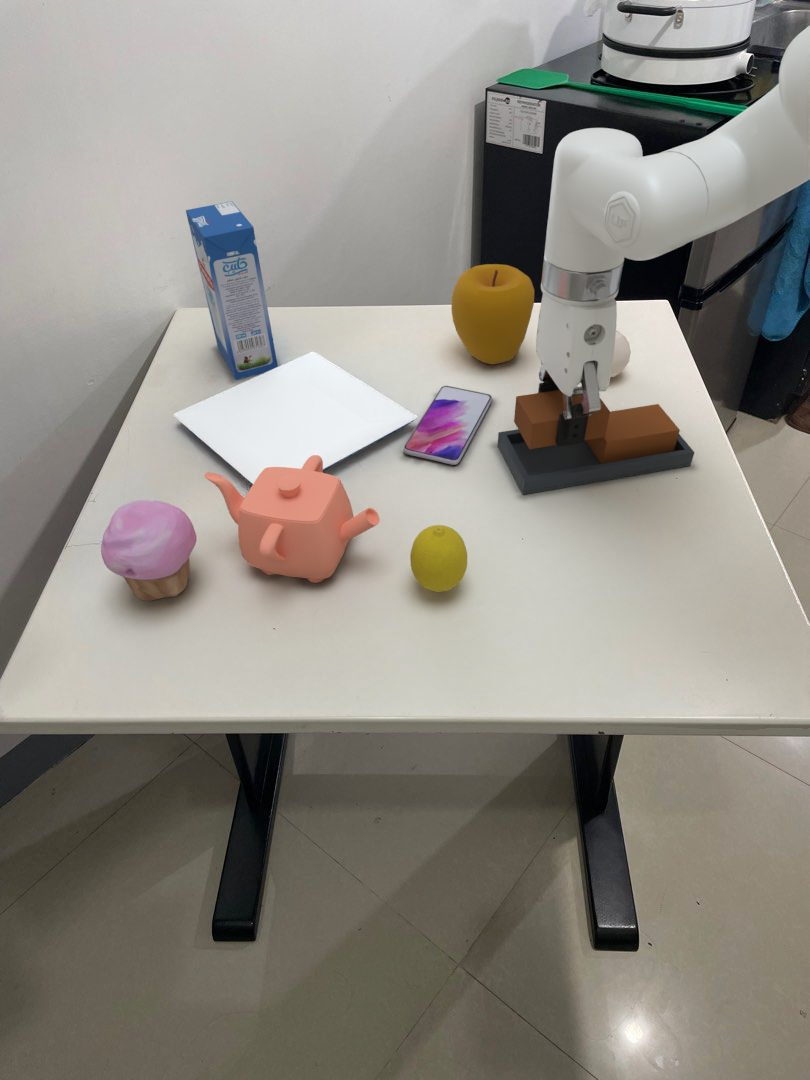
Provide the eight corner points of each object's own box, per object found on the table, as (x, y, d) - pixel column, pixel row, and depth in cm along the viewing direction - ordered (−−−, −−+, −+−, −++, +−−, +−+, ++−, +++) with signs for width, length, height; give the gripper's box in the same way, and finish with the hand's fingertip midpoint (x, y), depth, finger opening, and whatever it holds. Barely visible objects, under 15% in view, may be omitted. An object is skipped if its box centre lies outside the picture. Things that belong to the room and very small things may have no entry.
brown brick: (513, 421, 86) (515, 396, 83) (586, 410, 87) (590, 384, 84) (529, 449, 82) (532, 423, 79) (605, 437, 83) (610, 411, 80)
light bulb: (541, 332, 100) (616, 334, 93) (566, 322, 104) (639, 324, 97) (543, 380, 102) (616, 386, 95) (567, 369, 107) (639, 373, 100)
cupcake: (137, 554, 79) (108, 482, 72) (217, 554, 78) (195, 482, 71) (111, 619, 72) (76, 547, 65) (198, 619, 72) (172, 547, 65)
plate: (272, 510, 83) (269, 496, 81) (175, 426, 95) (171, 412, 94) (419, 429, 93) (418, 415, 92) (314, 362, 105) (313, 349, 104)
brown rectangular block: (583, 438, 90) (587, 414, 87) (652, 427, 91) (658, 403, 88) (602, 466, 86) (606, 442, 83) (673, 453, 87) (680, 429, 84)
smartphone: (494, 394, 96) (457, 462, 87) (493, 400, 97) (457, 467, 87) (442, 384, 98) (400, 448, 88) (441, 389, 99) (400, 454, 89)
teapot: (345, 501, 84) (336, 428, 76) (386, 569, 76) (380, 495, 69) (223, 540, 80) (201, 467, 73) (253, 616, 72) (232, 543, 65)
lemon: (472, 573, 75) (475, 516, 69) (457, 613, 71) (459, 556, 66) (421, 562, 76) (419, 504, 71) (403, 600, 73) (400, 543, 67)
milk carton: (217, 347, 109) (185, 209, 95) (258, 337, 111) (231, 200, 97) (236, 380, 103) (203, 236, 89) (278, 369, 104) (253, 226, 90)
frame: (497, 445, 90) (498, 432, 89) (653, 419, 93) (656, 406, 91) (522, 495, 83) (524, 481, 82) (690, 466, 86) (694, 452, 85)
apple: (437, 362, 104) (436, 275, 95) (476, 330, 110) (479, 245, 101) (505, 385, 99) (511, 295, 90) (542, 350, 106) (551, 262, 97)
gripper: (657, 310, 66) (621, 467, 79) (583, 235, 78) (563, 382, 91) (578, 321, 65) (555, 479, 78) (516, 243, 77) (504, 391, 90)
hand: (559, 425), depth 84 cm, fingers closed on brown brick, 5 cm apart
